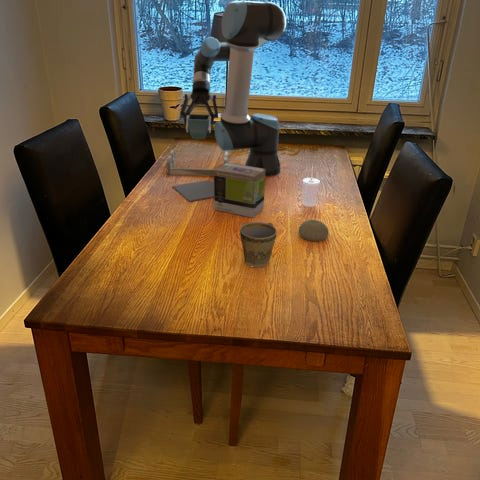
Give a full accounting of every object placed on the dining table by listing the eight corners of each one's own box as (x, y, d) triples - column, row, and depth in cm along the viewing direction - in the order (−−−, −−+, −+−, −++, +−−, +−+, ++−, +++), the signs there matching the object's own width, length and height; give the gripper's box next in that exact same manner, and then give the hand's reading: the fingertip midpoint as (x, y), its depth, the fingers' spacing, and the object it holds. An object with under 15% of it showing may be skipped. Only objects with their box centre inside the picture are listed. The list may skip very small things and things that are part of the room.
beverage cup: (320, 204, 167) (325, 167, 161) (310, 208, 163) (315, 171, 157) (306, 199, 171) (310, 162, 165) (296, 203, 167) (300, 166, 161)
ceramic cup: (263, 275, 124) (265, 242, 119) (231, 264, 128) (232, 231, 124) (285, 255, 134) (288, 224, 129) (255, 245, 138) (257, 215, 133)
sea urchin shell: (311, 241, 138) (302, 216, 140) (299, 249, 145) (291, 225, 147) (336, 235, 142) (327, 211, 143) (323, 243, 149) (315, 220, 150)
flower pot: (208, 140, 197) (208, 119, 192) (187, 140, 197) (187, 119, 192) (210, 135, 204) (210, 114, 200) (190, 134, 204) (189, 114, 200)
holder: (172, 161, 204) (171, 148, 201) (227, 163, 204) (228, 150, 202) (167, 174, 190) (166, 160, 187) (226, 176, 190) (226, 162, 187)
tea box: (264, 208, 163) (266, 168, 156) (253, 219, 155) (255, 177, 148) (226, 200, 168) (226, 160, 161) (213, 210, 160) (213, 169, 153)
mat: (228, 194, 173) (228, 193, 172) (189, 202, 165) (189, 200, 165) (209, 180, 185) (209, 179, 185) (172, 187, 178) (172, 185, 177)
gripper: (226, 91, 206) (224, 136, 199) (177, 89, 206) (174, 134, 199) (225, 80, 199) (223, 127, 192) (175, 79, 199) (171, 125, 192)
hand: (198, 131), depth 196 cm, fingers closed on flower pot, 9 cm apart
